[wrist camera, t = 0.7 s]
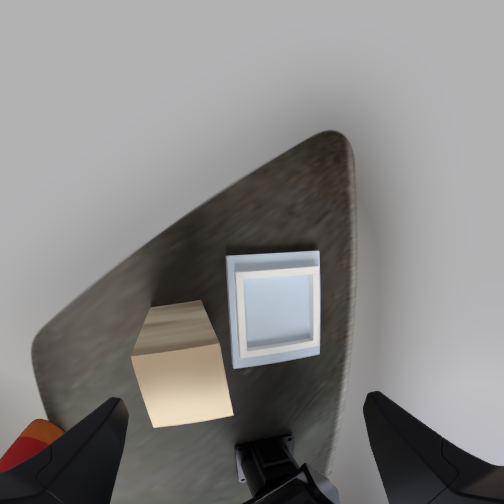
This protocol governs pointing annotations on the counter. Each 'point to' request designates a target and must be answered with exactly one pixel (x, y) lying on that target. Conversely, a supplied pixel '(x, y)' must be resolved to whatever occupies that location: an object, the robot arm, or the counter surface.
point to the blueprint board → (273, 307)
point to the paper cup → (30, 443)
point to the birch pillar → (180, 366)
